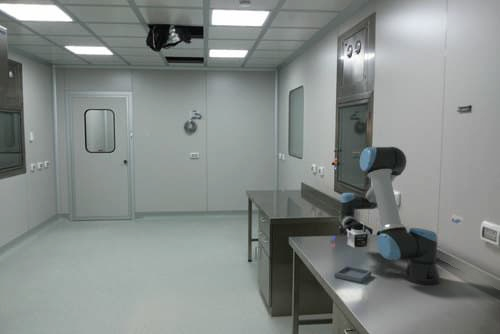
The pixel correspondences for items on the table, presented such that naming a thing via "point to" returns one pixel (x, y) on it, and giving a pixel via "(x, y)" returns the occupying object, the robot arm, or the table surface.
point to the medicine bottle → (357, 235)
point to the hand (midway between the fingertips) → (359, 235)
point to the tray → (353, 274)
